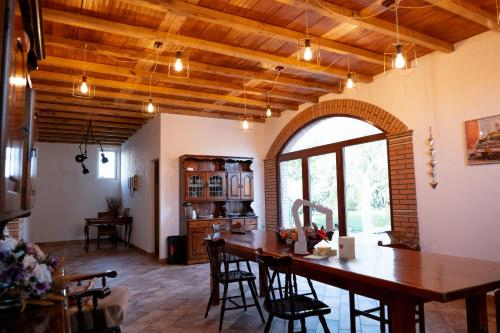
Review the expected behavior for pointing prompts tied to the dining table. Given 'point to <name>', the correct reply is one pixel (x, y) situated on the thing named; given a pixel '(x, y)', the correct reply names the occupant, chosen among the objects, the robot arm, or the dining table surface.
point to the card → (324, 248)
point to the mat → (315, 256)
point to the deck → (325, 252)
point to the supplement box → (346, 247)
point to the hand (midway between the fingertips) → (330, 240)
